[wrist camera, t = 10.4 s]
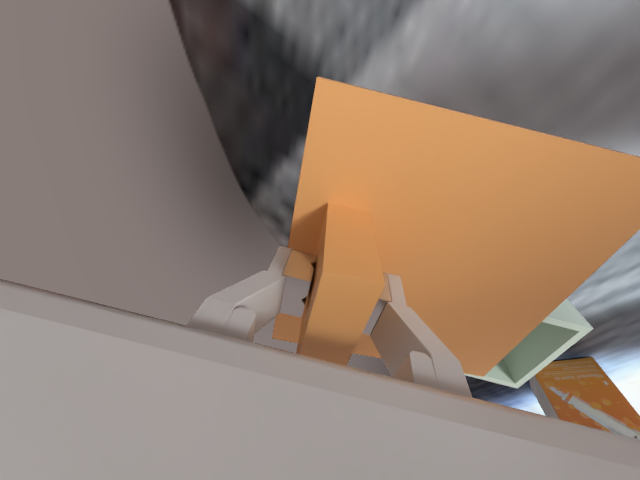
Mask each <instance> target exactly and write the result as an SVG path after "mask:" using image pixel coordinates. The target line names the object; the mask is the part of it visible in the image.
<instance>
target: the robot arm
mask: <svg viewBox="0 0 640 480" xmlns="http://www.w3.org/2000/svg"><path fill="white" fill-rule="evenodd" d="M316 259H317V255H313V254H310V253H306V252H303V251H299V250H295V249H291V248H288V247H284V246H279V247H278V249H277V251H276V253H275V255H274V257H273V259H272V261H271V263H270V265H269V267H268V269H267V271H264V270H262V271H260V272H258V273H256V274H254V275H252V276H250V277H248V278H246V279H244V280H242V281H240V282H238V283H236V284H233V285H231V286H229V287H227V288H225V289H224V290H221V291H219V292H217V293H215V294H213V295H211V296H209V297H207V298H206V299H205V301H204V302H203V303H202V305H201V306H200V308H199V309H198V310H197V312H196V313H195V315H194V316H193V318H192V319H191V320H190V322H189V323H188V324H187V326H185V325H182V324H178V323H174V322H170V321H166V320H162V319H158V318H154V317H150V316H146V315H141V314H138V313H134V312H130V311H126V310H122V309H118V308H114V307H110V306H106V305H102V304H98V303H94V302H90V301H86V300H82V299H78V298H74V297H70V296H66V295H62V294H58V293H54V292H50V291H46V290H42V289H38V288H34V287H30V286H26V285H23V284H18V283H14V282H11V281H7V280H2V279H0V480H640V440H639V439H635V438H631V437H627V436H623V435H619V434H615V433H611V432H607V431H603V430H599V429H595V428H591V427H587V426H583V425H579V424H575V423H571V422H567V421H563V420H559V419H555V418H551V417H547V416H543V415H539V414H535V413H532V412H528V411H524V410H520V409H516V408H512V407H508V406H504V405H500V404H496V403H492V402H488V401H484V400H480V399H476V398H472V395H471V392H470V389H469V386H468V383H467V381H466V378H465V375H464V372H463V369H462V366H461V363H460V361H459V360H458V359H457V358H456V357H455V356H454V355H453V353H452V352H451V351H450V350H449V349H448V348H447V347H446V346H445V345H444V344H443V342H442V341H441V340H440V339H439V338H438V337H437V336H436V335H435V334H434V333H433V331H432V330H431V329H430V328H429V327H428V326H427V325H426V324H425V323H424V322H423V320H422V319H421V318H420V317H419V316H418V315H417V314H416V313H415V312H414V311H413V309H412V308H411V307H407V305H406V300H405V295H404V291H403V286H402V281H401V277H400V276H399V275H395V274H390V273H384V272H383V276H384V280H385V286H384V289H383V291H382V293H381V295H380V297H379V299H378V301H377V303H376V305H375V307H374V309H373V312H372V314H371V316H370V318H369V320H368V322H367V324H366V326H365V328H364V330H363V332H362V333H364V334H367V335H370V337H371V339H372V341H373V343H374V345H375V346H376V348H377V350H378V352H379V354H380V356H381V358H382V359H383V361H384V363H385V365H386V367H387V368H388V370H389V372H390V374H391V376H392V377H388V376H384V375H381V374H377V373H373V372H369V371H365V370H361V369H357V368H353V367H349V366H345V365H341V364H337V363H333V362H329V361H325V360H321V359H317V358H313V357H309V356H305V355H301V354H297V353H293V352H288V351H285V350H281V349H277V348H273V347H269V346H265V345H261V344H257V343H253V337H254V334H255V333H256V332H258V331H259V330H260V329H261V328H262V327H264V326H265V325H266V324H267V323H269V321H271V320H272V319H273V318H275V317H276V316H277V315H278V314H279V313H284V314H288V315H293V316H297V317H302V314H303V310H304V307H305V303H306V299H307V295H308V291H309V287H310V283H311V279H312V275H313V271H314V267H315V263H316Z"/></svg>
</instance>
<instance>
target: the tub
mask: <svg viewBox="0 0 640 480" xmlns="http://www.w3.org/2000/svg"><path fill="white" fill-rule="evenodd" d="M593 329H594V328H593V327H592V326H591V325H590V324H589V323H588V322H587V321H586V320H585V318H584V317H583V316H582V315H581V314H580V313H579V312H578V311H577V310H576V309H575V308H574V306H573V305H572V304H571V303H570V302H569V301H568V300H567V299H565V300H564V301H563V302H562V303H561V304H560V305H559V306H558V307H557V308H556V309H555V310H554V311H553V312H552V313H550V314H549V315H548V316H547V317H546V318H545V319H544V320H543V321H542V322H541V323H540V324H539V325H538V326H537V327H536V328H535V329H534V330H532V331H531V332H530V333H529V334H528V335H527V336H526V337H525V338H524V339H523V340H522V341H521V342H520V343H519V344H518V345H517V346H516V347H515V348H513V349H512V350H511V351H510V352H509V353H508V354H507V355H506V356H505V357H504V358H503V359H502V360H501V361H500V362H499V363H498V364H497V365H495V366H494V367H493V368H492V369H491V370H490V371H489V372H488V373H487V374H486V375H485V376H484V377H482V376H476V375H471V374H465V373H464V375H467V376H470V377H474V378H478V379H482V380H486V381H490V382H494V383H498V384H502V385H505V386H509V387H513V388H517V389H518V388H519V387H520V386H521V385H523V384H524V383H525V382H526V381H528V380H529V379H530V378H532V377H533V376H534V375H535V374H537V373H538V372H539V371H540V370H542V369H543V368H544V367H546V366H547V365H548V364H549V363H551V362H552V361H553V360H554V359H556V358H557V357H558V356H560V355H561V354H562V353H563V352H565V351H566V350H567V349H568V348H570V347H571V346H572V345H573V344H575V343H576V342H577V341H579V340H580V339H581V338H582V337H584V336H585V335H586V334H587V333H589V332H590V331H591V330H593Z"/></svg>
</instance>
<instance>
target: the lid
mask: <svg viewBox="0 0 640 480" xmlns="http://www.w3.org/2000/svg"><path fill="white" fill-rule="evenodd" d="M639 229H640V157H639V156H635V155H631V154H627V153H623V152H619V151H615V150H611V149H607V148H603V147H599V146H595V145H591V144H587V143H583V142H579V141H575V140H571V139H567V138H563V137H559V136H555V135H551V134H547V133H543V132H539V131H535V130H531V129H527V128H523V127H519V126H515V125H511V124H507V123H503V122H499V121H495V120H491V119H487V118H483V117H479V116H475V115H471V114H467V113H463V112H459V111H455V110H451V109H447V108H443V107H439V106H435V105H431V104H427V103H423V102H419V101H414V100H410V99H406V98H402V97H398V96H394V95H390V94H386V93H382V92H378V91H374V90H370V89H366V88H362V87H358V86H354V85H350V84H346V83H342V82H338V81H334V80H330V79H326V78H322V77H317V79H316V85H315V91H314V97H313V103H312V109H311V114H310V120H309V126H308V132H307V138H306V144H305V149H304V155H303V161H302V167H301V173H300V179H299V184H298V190H297V196H296V202H295V208H294V214H293V220H292V225H291V231H290V237H289V243H288V248H291V249H295V250H299V251H303V252H306V253H310V254H313V255H317V259H316V263H315V267H314V271H313V275H312V279H311V283H310V287H309V291H308V295H307V299H306V303H305V307H304V310H303V314H302V317H297V316H293V315H288V314H284V313H279V314H278V315H277V316H276V319H275V325H274V331H273V338H272V339H278V340H283V341H289V342H295V343H298V345H297V352H296V353H297V354H301V355H305V356H309V357H313V358H317V359H321V360H325V361H329V362H333V363H337V364H341V365H345V366H347V364H348V362H349V360H350V357H351V355H352V353H355V354H360V355H366V356H371V357H377V358H381V356H380V354H379V352H378V350H377V348H376V346H375V345H374V343H373V341H372V339H371V337H370V335H367V334H364V333H362V332H363V330H364V328H365V326H366V324H367V322H368V320H369V318H370V316H371V314H372V312H373V309H374V307H375V305H376V303H377V301H378V299H379V297H380V295H381V293H382V291H383V289H384V286H385V280H384V276H383V272H384V273H390V274H395V275H399V276H400V277H401V281H402V286H403V291H404V295H405V300H406V305H407V307H411V308H412V309H413V311H414V312H415V313H416V314H417V315H418V316H419V317H420V318H421V319H422V320H423V322H424V323H425V324H426V325H427V326H428V327H429V328H430V329H431V330H432V331H433V333H434V334H435V335H436V336H437V337H438V338H439V339H440V340H441V341H442V342H443V344H444V345H445V346H446V347H447V348H448V349H449V350H450V351H451V352H452V353H453V355H454V356H455V357H456V358H457V359H458V360H459V361H460V363H461V366H462V369H463V372H464V373H465V374H471V375H476V376H482V377H484V376H485V375H486V374H487V373H488V372H489V371H490V370H491V369H492V368H493V367H494V366H495V365H497V364H498V363H499V362H500V361H501V360H502V359H503V358H504V357H505V356H506V355H507V354H508V353H509V352H510V351H511V350H512V349H513V348H515V347H516V346H517V345H518V344H519V343H520V342H521V341H522V340H523V339H524V338H525V337H526V336H527V335H528V334H529V333H530V332H531V331H532V330H534V329H535V328H536V327H537V326H538V325H539V324H540V323H541V322H542V321H543V320H544V319H545V318H546V317H547V316H548V315H549V314H550V313H552V312H553V311H554V310H555V309H556V308H557V307H558V306H559V305H560V304H561V303H562V302H563V301H564V300H565V299H566V298H567V297H568V296H569V295H571V294H572V293H573V292H574V291H575V290H576V289H577V288H578V287H579V286H580V285H581V284H582V283H583V282H584V281H585V280H586V279H587V278H589V277H590V276H591V275H592V274H593V273H594V272H595V271H596V270H597V269H598V268H599V267H600V266H601V265H602V264H603V263H604V262H605V261H607V260H608V259H609V258H610V257H611V256H612V255H613V254H614V253H615V252H616V251H617V250H618V249H619V248H620V247H621V246H622V245H623V244H624V243H626V242H627V241H628V240H629V239H630V238H631V237H632V236H633V235H634V234H635V233H636V232H637V231H638V230H639Z"/></svg>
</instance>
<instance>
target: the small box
mask: <svg viewBox="0 0 640 480" xmlns="http://www.w3.org/2000/svg"><path fill="white" fill-rule="evenodd" d="M529 380H530V386H531V389H532V391H533V392H534V394H535V396H536V398H537V400H538V402H539V404H540V406H541V408H542V409H543V411H544V413H545V415H546V416H547V417H551V418H555V419H559V420H563V421H567V422H571V423H575V424H579V425H583V426H587V427H591V428H595V429H599V430H603V431H607V432H611V433H615V434H619V435H623V436H627V437H631V438H635V439H639V440H640V416H639V414H638V413H637V412H636V411H635V409H634V408H633V407H632V406H631V404H630V403H629V402H628V401H627V399H626V398H625V397H624V396H623V394H622V393H621V392H620V391H619V389H618V388H617V387H616V386H615V384H614V383H613V382H612V381H611V379H610V378H609V377H608V376H607V375H606V373H605V372H604V371H603V370H602V368H601V367H600V366H599V365H598V363H597V362H596V361H595V360H594V359H593V358H592V357H588V358H580V359H571V360H561V361H552V362H551V363H549V364H548V365H547V366H546V367H544V368H543V369H542V370H540V371H539V372H538V373H537V374H535V375H534V376H533V377H532V378H530V379H529Z"/></svg>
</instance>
